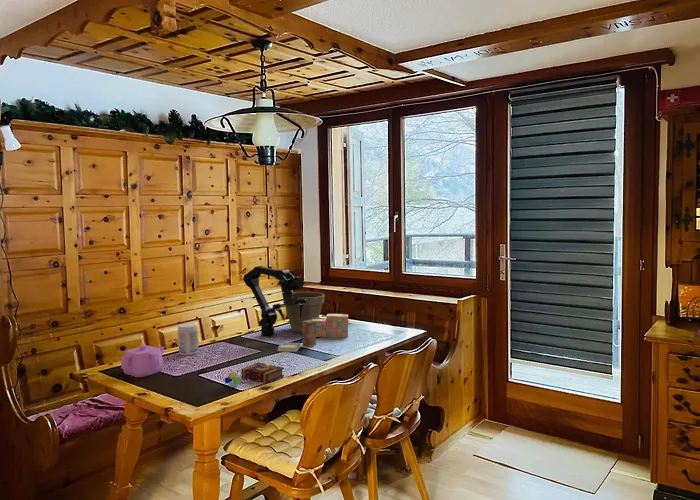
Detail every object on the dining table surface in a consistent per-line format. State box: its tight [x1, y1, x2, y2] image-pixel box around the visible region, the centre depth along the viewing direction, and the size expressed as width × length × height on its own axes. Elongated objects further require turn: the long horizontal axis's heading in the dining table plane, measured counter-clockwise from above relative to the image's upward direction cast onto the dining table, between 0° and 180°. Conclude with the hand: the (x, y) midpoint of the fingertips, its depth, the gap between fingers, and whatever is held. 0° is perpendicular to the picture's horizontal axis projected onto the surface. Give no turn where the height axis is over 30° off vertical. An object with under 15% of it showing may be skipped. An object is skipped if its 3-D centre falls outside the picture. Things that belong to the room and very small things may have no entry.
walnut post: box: [302, 320, 317, 347], centre depth 290 cm, size 5×5×13 cm
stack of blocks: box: [312, 313, 349, 338], centre depth 311 cm, size 21×6×12 cm, turn 86°
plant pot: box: [282, 291, 325, 333], centre depth 326 cm, size 25×25×22 cm
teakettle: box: [120, 344, 165, 378], centre depth 244 cm, size 17×17×12 cm
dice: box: [224, 371, 242, 388], centre depth 225 cm, size 8×3×6 cm, turn 56°
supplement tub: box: [177, 322, 199, 356], centre depth 274 cm, size 10×10×15 cm
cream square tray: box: [277, 342, 301, 353], centre depth 283 cm, size 10×10×2 cm
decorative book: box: [241, 361, 285, 384], centre depth 237 cm, size 11×16×5 cm
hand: (292, 319), depth 301 cm, fingers open, 9 cm apart
